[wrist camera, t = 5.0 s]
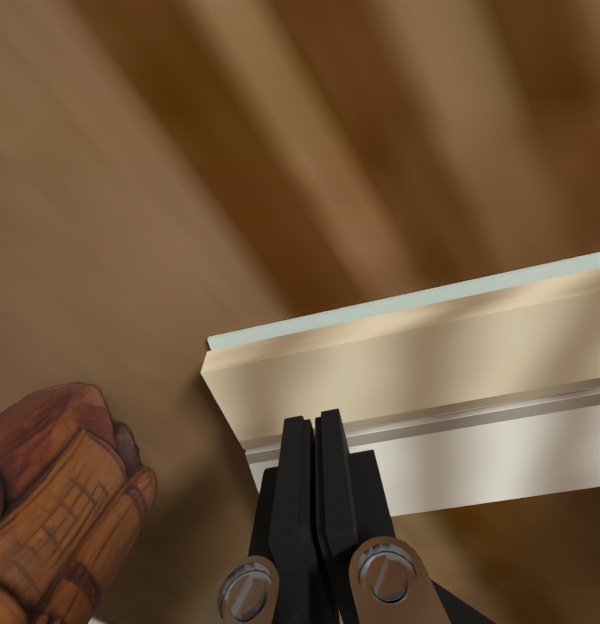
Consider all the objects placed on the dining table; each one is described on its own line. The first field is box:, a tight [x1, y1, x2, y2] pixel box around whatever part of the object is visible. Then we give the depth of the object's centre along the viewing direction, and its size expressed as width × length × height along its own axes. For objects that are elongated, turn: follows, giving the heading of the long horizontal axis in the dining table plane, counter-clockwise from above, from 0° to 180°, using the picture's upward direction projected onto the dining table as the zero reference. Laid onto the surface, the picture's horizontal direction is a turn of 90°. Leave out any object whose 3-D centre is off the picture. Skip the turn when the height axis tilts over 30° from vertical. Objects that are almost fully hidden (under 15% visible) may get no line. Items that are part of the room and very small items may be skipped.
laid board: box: [245, 387, 600, 516], centre depth 18 cm, size 20×6×1 cm, turn 103°
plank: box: [201, 268, 600, 449], centre depth 15 cm, size 20×6×1 cm, turn 103°
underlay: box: [207, 252, 600, 351], centre depth 18 cm, size 21×12×1 cm, turn 103°
